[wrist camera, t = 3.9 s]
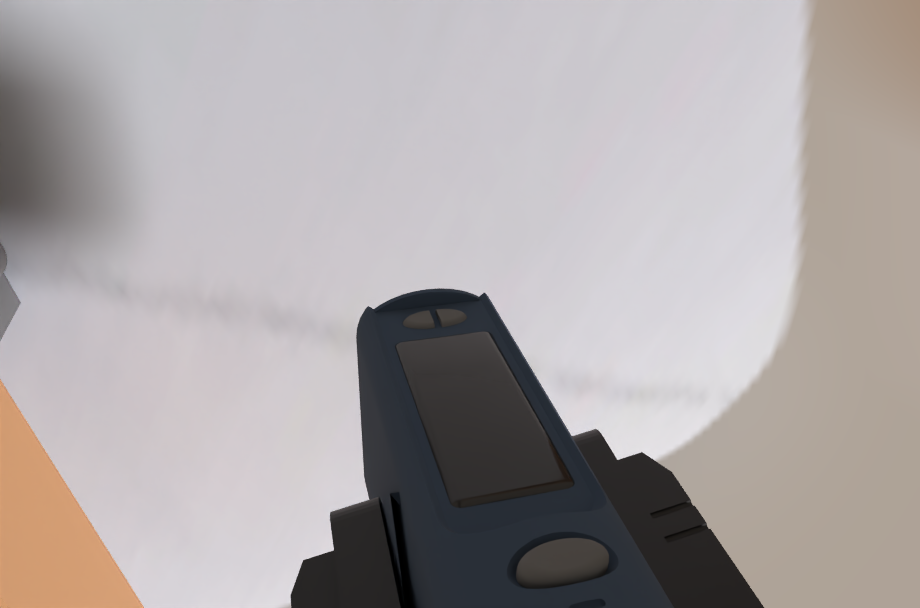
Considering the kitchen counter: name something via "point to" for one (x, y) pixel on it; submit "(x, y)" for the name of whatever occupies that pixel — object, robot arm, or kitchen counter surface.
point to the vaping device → (483, 468)
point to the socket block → (6, 296)
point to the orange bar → (48, 531)
